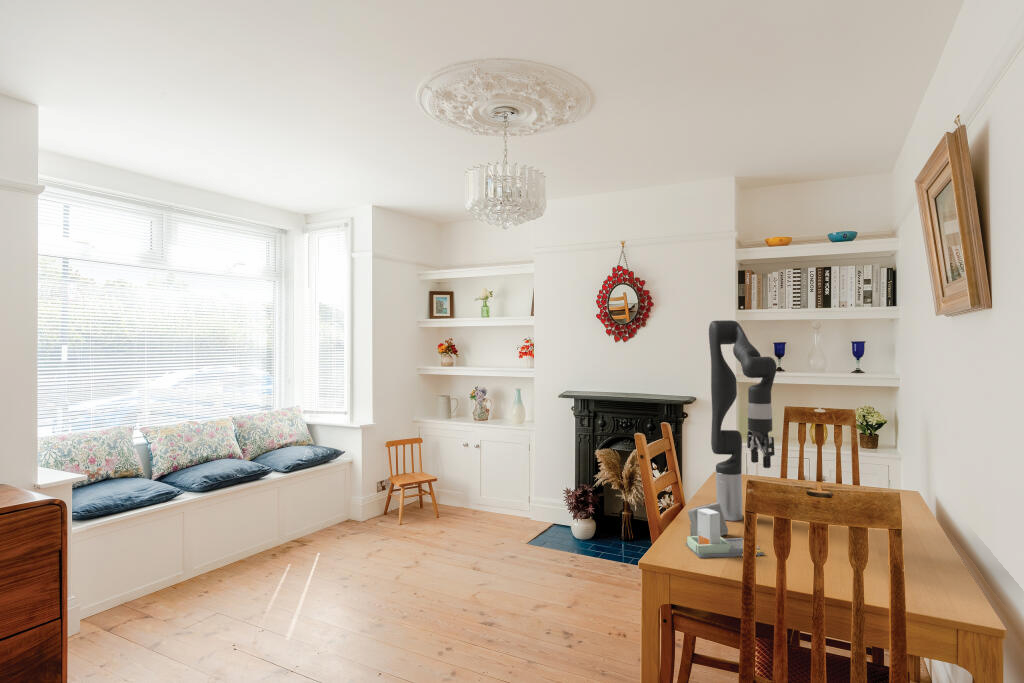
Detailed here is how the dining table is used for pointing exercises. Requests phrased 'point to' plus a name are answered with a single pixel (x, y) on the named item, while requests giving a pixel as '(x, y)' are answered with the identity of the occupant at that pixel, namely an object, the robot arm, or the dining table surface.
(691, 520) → the digital clock
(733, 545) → the cradle plate
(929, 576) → the dining table surface
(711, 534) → the skincare box
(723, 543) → the grey green docking tray
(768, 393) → the robot arm
